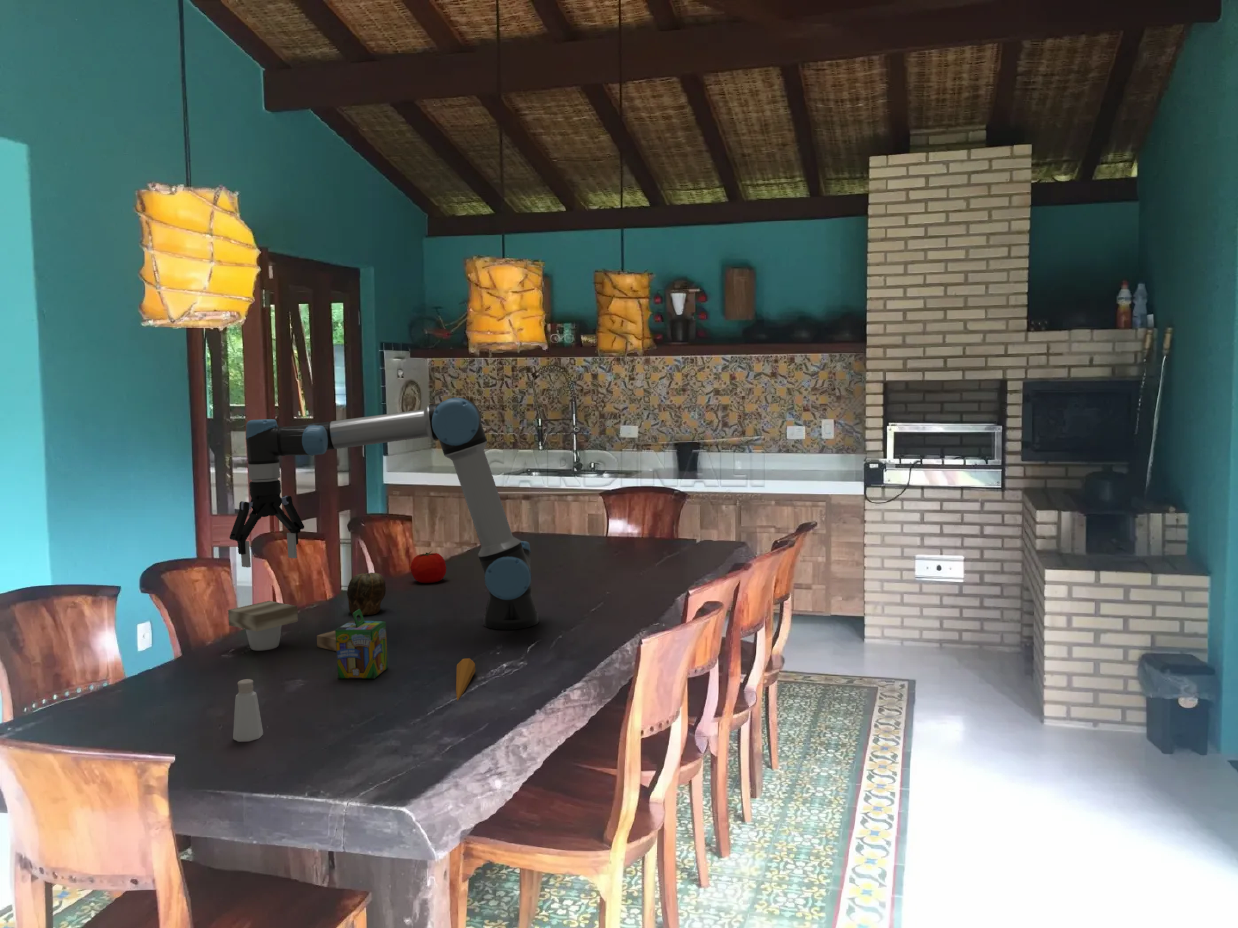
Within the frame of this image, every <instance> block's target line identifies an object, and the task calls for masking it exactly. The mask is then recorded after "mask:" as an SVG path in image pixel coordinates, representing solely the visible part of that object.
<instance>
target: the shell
mask: <svg viewBox="0 0 1238 928" xmlns="http://www.w3.org/2000/svg"><path fill="white" fill-rule="evenodd" d="M386 592H387V589H386V580H385V578H384V576H383V575H382V574H380V573H379V572H369V573H367V572H364V573H363V572H361V573H357V574H355V575H354V576H353V577H352V578H351V579H350V580H349V583H348V585H347V590H346V596H347V600H348V601H347V602H348V609H349V612H350V614H351V615H353V613H354V612H355V611H357V610H358V609H360V610H361V612H362V615H363V616H372V615H376V614H378V613H380V611H381V604H382V601H383V599H385V596H386ZM357 617H360V616H359V615H357Z"/></svg>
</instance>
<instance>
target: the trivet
mask: <svg viewBox="0 0 1238 928" xmlns="http://www.w3.org/2000/svg"><path fill="white" fill-rule="evenodd" d="M316 647H317V648H321V649H325V650H330V651H333V652H336V635H335V630H331V631H327V632H323V633H321V634H317V635H316Z"/></svg>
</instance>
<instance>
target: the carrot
mask: <svg viewBox="0 0 1238 928" xmlns="http://www.w3.org/2000/svg"><path fill="white" fill-rule="evenodd" d="M475 673H476V663H475V662H474V661H473V660H472V659H471V658H470V657H469V658H462V659H461V660H460V661H459V662H458V663H457V664H456V675H455V676H456V680H455V681H456V683H455V692H456V694H455V695H456V701H457V702H458V701H459V700H460V698H461V697H462V696H463V694H464V693H465V691H466V689H467V687H468V686H469V684H470V683H471V680H472V678H473V676H474V675H475Z"/></svg>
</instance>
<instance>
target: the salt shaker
mask: <svg viewBox="0 0 1238 928" xmlns="http://www.w3.org/2000/svg"><path fill="white" fill-rule="evenodd" d="M237 686H238V688H237V690H238V693H237V694H236V695H235V700H234V715H233V716H234V717H233V735H232V736H233V737H232V739H233V740H234V741H236V742H239V743H240V742H241V743H243V742H253V741H255V740H259V739H261V737H262V736H263V735H264V730H263V723H262V719H261V713H260V706H259V700H258V694H257V692H256V691H254V680H253V679H251V678H246V679H241V680H239V681H238V682H237Z"/></svg>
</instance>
